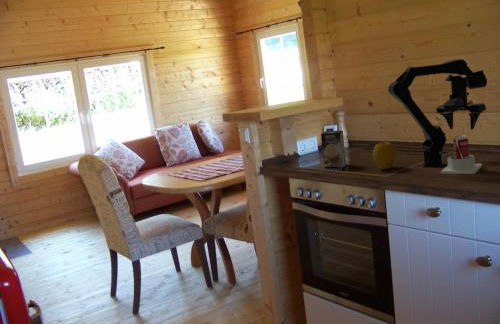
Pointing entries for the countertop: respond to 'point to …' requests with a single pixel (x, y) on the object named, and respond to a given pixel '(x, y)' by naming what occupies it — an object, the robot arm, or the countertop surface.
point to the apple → (384, 155)
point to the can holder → (461, 166)
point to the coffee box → (333, 148)
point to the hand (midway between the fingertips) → (461, 129)
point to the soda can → (461, 147)
